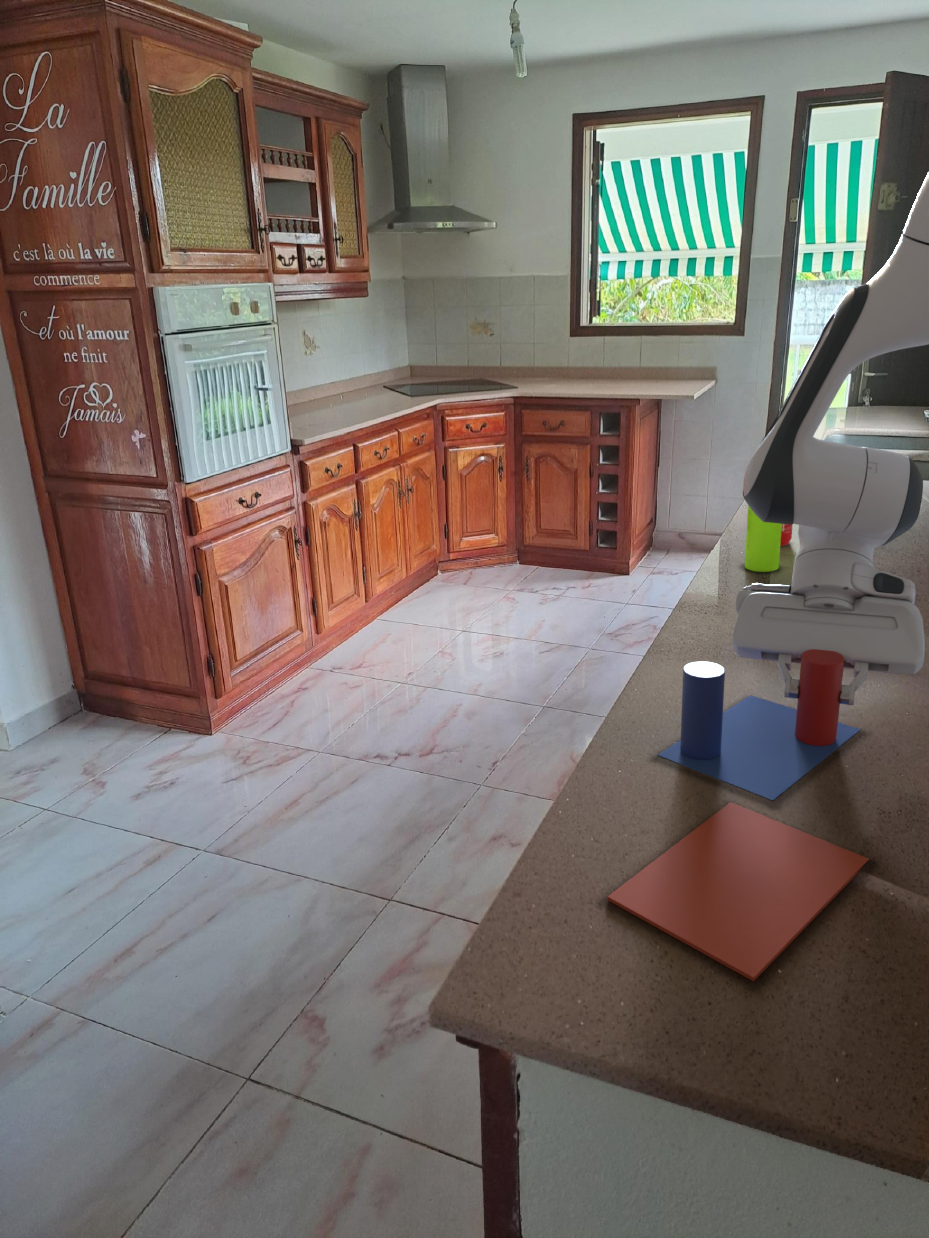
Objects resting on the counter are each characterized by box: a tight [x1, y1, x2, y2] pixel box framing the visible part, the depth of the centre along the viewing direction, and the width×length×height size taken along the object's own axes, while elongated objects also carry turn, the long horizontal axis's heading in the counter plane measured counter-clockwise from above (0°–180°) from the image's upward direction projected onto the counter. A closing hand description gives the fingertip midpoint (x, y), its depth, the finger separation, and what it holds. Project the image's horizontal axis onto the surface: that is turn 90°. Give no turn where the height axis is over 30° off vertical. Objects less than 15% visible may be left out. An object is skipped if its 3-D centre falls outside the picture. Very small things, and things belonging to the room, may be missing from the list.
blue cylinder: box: [680, 660, 726, 760], centre depth 97 cm, size 4×4×10 cm
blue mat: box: [657, 694, 861, 801], centre depth 100 cm, size 14×20×1 cm
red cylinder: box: [795, 649, 845, 746], centre depth 99 cm, size 4×4×10 cm
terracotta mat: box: [606, 801, 870, 982], centre depth 78 cm, size 14×20×1 cm
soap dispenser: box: [744, 504, 782, 573], centre depth 156 cm, size 6×7×20 cm
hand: (818, 699), depth 98 cm, fingers closed on red cylinder, 4 cm apart
